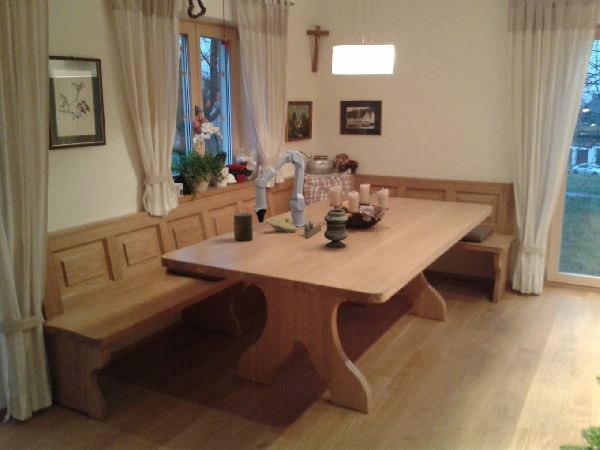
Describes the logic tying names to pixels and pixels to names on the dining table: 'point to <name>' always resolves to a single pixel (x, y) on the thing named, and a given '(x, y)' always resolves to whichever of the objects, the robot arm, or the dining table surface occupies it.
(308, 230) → the brown piece
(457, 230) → the dining table surface
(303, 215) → the robot arm
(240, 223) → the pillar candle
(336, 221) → the apothecary jar
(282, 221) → the cheese
